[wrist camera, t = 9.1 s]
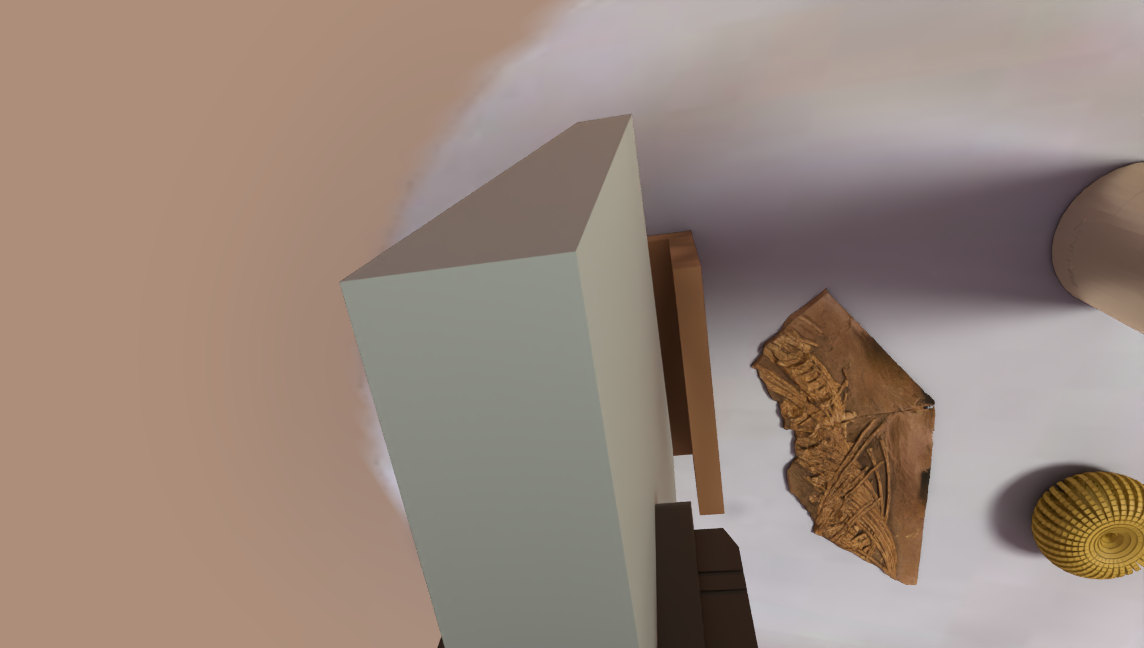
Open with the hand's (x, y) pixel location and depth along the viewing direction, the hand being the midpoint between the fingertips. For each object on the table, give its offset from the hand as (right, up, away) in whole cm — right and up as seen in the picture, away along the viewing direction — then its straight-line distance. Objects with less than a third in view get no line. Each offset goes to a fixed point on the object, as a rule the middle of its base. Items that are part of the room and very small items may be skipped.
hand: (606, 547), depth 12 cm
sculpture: (+36, -9, +35) cm, 51 cm away
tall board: (+2, +5, +14) cm, 15 cm away
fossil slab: (+20, -5, +36) cm, 41 cm away
